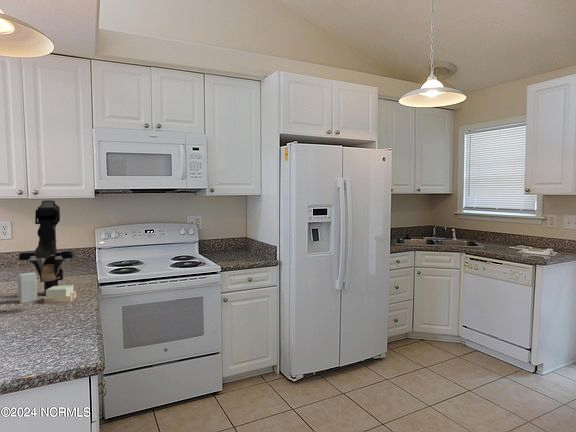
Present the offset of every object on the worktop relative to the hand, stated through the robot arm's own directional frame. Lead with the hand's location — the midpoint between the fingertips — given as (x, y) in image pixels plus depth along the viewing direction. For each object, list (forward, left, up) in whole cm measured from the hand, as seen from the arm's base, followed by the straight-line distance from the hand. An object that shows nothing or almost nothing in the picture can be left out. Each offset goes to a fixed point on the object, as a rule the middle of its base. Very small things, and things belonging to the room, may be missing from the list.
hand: (48, 276), depth 154 cm
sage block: (-13, +1, -10) cm, 17 cm away
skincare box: (-15, -12, -13) cm, 23 cm away
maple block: (-13, +1, -14) cm, 19 cm away
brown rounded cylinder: (0, 0, -2) cm, 2 cm away
